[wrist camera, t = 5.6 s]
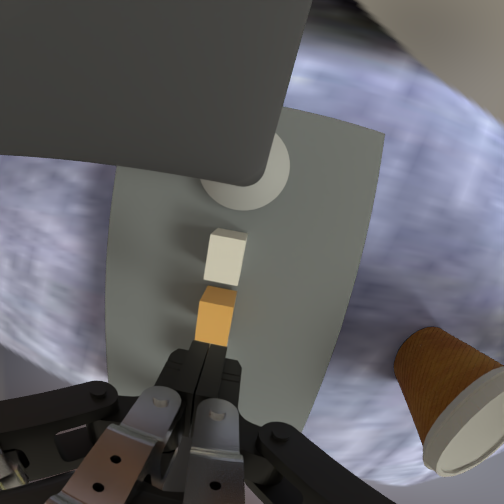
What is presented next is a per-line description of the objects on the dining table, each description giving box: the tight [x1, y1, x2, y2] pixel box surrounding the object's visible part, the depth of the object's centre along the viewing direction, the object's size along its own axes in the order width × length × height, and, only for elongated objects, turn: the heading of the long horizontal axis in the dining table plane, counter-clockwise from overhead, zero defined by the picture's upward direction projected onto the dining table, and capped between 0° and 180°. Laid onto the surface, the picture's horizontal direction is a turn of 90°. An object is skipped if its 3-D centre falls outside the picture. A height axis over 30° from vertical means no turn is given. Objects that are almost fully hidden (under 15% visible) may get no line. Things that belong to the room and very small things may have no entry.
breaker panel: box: [105, 107, 385, 432], centre depth 19 cm, size 16×25×7 cm, turn 169°
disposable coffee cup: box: [394, 327, 504, 477], centre depth 18 cm, size 10×10×12 cm
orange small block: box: [195, 286, 237, 346], centre depth 17 cm, size 2×2×3 cm
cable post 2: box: [162, 427, 192, 492], centre depth 12 cm, size 5×5×17 cm
